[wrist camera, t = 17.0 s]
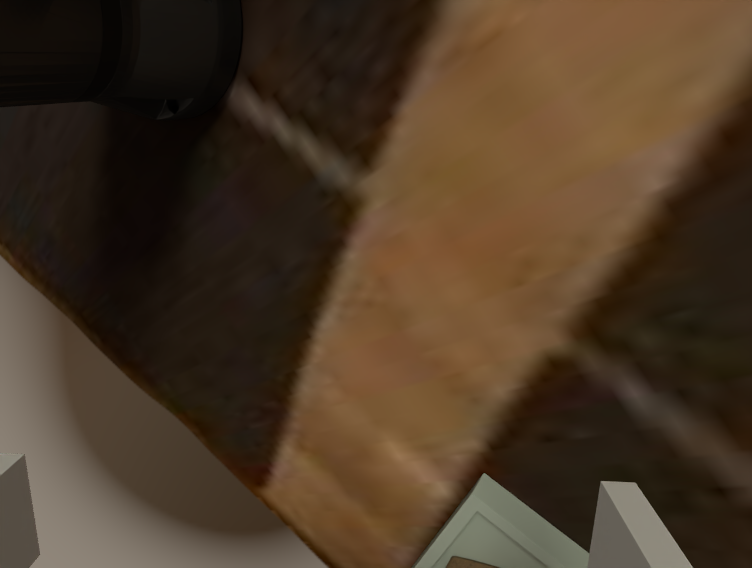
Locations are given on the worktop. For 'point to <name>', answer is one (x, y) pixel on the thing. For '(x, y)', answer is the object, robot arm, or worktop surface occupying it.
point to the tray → (500, 534)
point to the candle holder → (466, 563)
